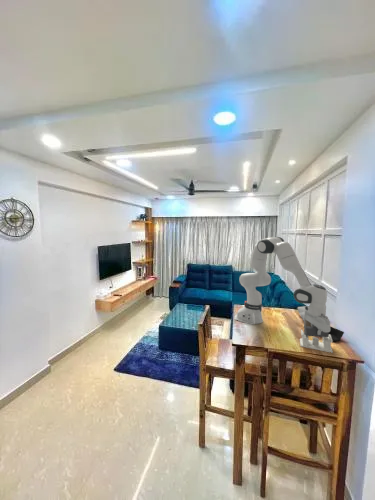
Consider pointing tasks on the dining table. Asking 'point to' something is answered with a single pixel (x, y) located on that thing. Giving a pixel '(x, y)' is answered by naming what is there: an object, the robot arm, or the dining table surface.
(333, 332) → the handheld gaming console
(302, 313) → the sculpture
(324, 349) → the display stand
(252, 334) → the dining table surface
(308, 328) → the tall charcoal prism
